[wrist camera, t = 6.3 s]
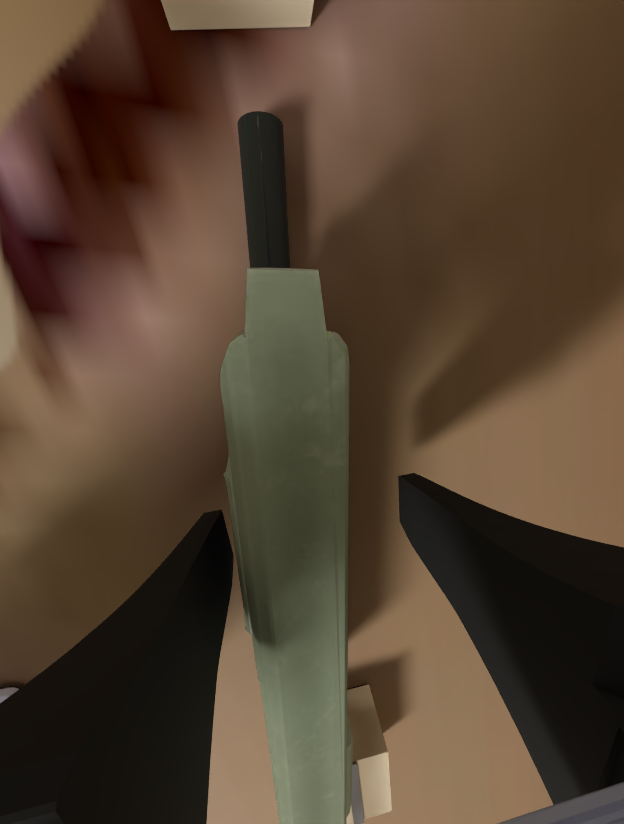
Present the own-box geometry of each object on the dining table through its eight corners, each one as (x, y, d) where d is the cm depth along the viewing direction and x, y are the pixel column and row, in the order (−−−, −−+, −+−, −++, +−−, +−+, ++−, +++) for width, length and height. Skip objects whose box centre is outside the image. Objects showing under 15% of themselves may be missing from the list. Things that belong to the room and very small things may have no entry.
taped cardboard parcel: (316, 757, 20) (325, 834, 17) (96, -342, 6) (-48, -901, 3) (374, 741, 20) (392, 813, 17) (278, -323, 7) (288, -807, 4)
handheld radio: (266, 674, 17) (203, 142, 9) (322, 660, 18) (306, 148, 10) (274, 880, 11) (102, -219, 3) (360, 850, 11) (395, -146, 4)
